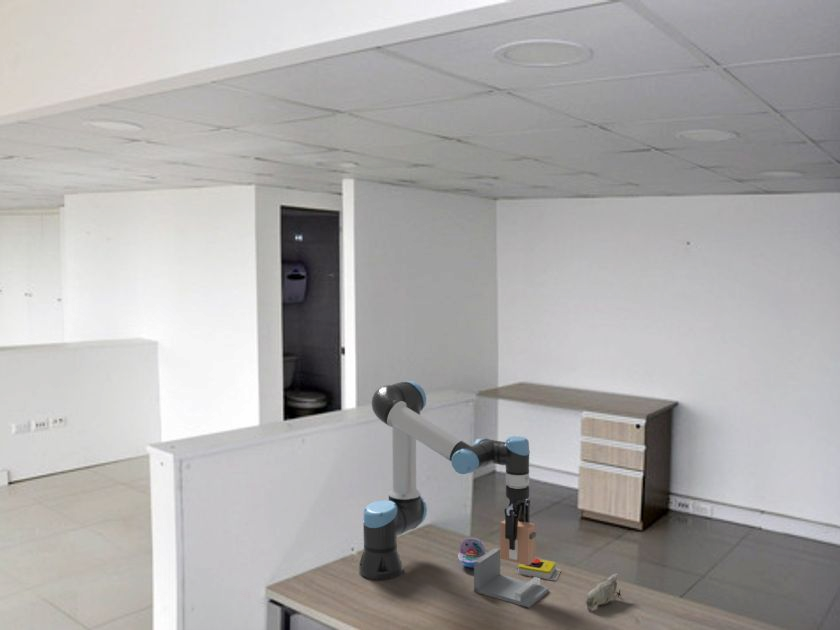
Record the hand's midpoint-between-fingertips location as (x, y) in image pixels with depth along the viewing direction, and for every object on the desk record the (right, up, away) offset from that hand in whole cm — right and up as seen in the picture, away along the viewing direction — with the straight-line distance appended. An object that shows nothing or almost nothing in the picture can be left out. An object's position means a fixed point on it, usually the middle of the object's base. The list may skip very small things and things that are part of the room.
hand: (517, 555), depth 237 cm
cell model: (-13, -11, +22) cm, 28 cm away
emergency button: (+9, -12, +17) cm, 23 cm away
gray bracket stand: (-2, -12, +2) cm, 13 cm away
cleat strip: (+3, -11, -1) cm, 12 cm away
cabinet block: (0, -1, 0) cm, 1 cm away
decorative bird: (+26, -13, -6) cm, 30 cm away
